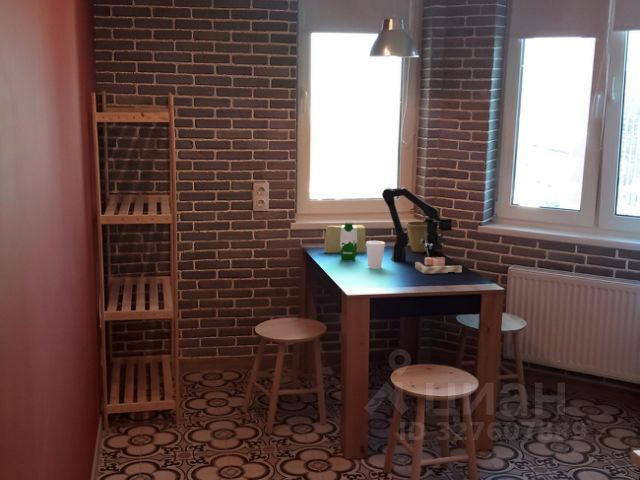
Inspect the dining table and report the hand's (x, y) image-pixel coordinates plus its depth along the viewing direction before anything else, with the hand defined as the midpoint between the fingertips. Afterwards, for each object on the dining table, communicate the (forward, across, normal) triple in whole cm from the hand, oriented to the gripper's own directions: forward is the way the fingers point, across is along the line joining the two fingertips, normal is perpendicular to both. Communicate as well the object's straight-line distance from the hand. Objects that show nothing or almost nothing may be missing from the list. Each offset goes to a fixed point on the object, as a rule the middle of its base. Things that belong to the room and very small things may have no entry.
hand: (430, 259), depth 410 cm
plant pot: (+1, +29, -3) cm, 29 cm away
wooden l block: (+1, -19, +3) cm, 20 cm away
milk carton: (+1, +12, +42) cm, 44 cm away
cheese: (+1, +33, +39) cm, 51 cm away
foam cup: (+1, -9, +33) cm, 34 cm away
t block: (+1, -10, 0) cm, 10 cm away
